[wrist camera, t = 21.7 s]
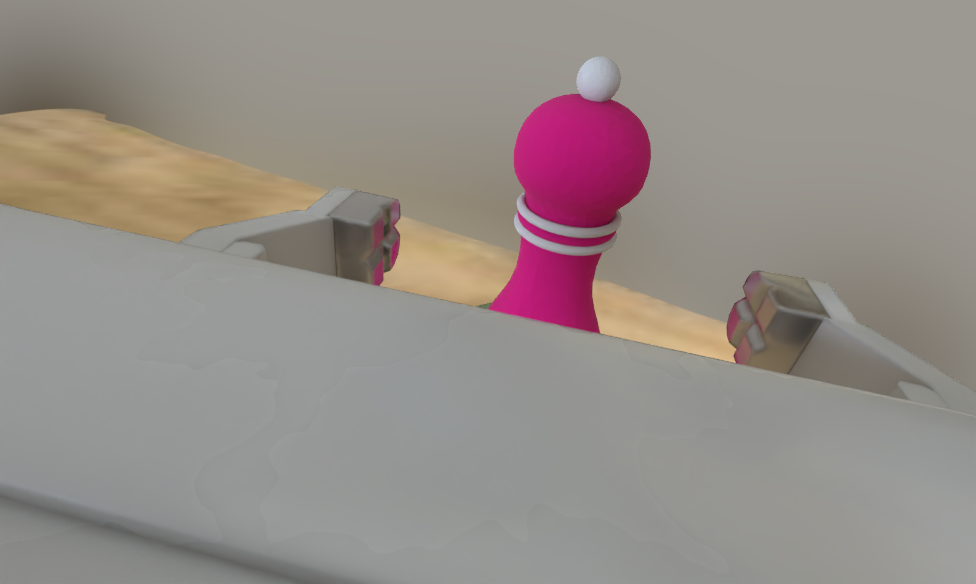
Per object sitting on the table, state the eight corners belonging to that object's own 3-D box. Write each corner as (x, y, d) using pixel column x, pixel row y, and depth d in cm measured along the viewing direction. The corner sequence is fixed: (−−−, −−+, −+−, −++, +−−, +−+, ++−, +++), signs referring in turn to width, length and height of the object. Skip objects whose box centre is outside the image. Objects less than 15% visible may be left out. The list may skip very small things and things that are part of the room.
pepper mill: (578, 464, 28) (710, 89, 16) (454, 433, 28) (498, 55, 17) (584, 377, 34) (684, 58, 22) (481, 353, 34) (527, 33, 23)
